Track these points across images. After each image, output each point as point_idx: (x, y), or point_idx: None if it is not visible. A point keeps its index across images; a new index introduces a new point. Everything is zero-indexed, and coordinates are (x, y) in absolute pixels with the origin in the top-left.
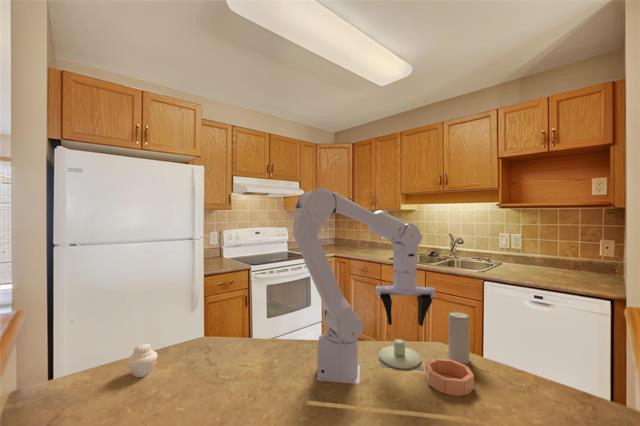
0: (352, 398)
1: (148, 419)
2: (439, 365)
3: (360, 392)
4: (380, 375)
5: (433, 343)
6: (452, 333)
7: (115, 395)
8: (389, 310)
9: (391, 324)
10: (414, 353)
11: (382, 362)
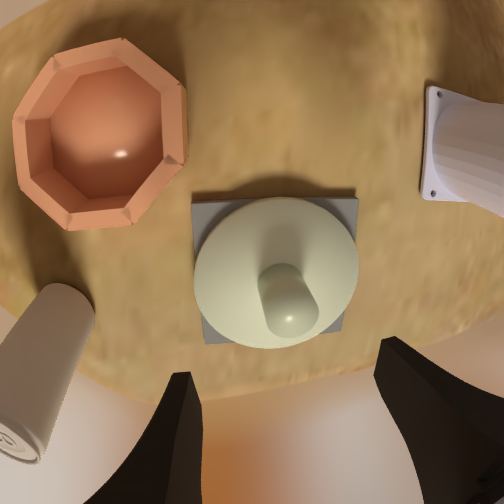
0: (433, 32)
1: None
2: (122, 202)
3: (418, 55)
4: (360, 153)
5: (146, 398)
6: (42, 364)
7: None
8: (454, 392)
9: (384, 339)
10: (216, 309)
11: (348, 230)
